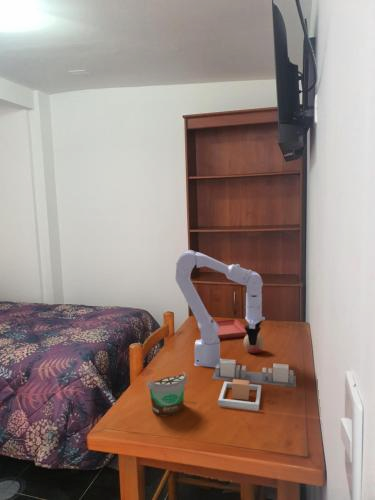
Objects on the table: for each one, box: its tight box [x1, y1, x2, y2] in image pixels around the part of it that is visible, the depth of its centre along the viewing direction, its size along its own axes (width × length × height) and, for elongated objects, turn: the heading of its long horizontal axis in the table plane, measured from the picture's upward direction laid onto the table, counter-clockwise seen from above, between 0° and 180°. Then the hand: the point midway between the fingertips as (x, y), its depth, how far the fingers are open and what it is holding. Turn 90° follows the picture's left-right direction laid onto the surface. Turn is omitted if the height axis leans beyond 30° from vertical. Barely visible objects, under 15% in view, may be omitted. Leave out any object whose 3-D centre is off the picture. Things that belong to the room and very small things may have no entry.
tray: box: [217, 380, 262, 412], centre depth 118 cm, size 12×12×2 cm
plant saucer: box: [214, 318, 247, 340], centre depth 177 cm, size 18×18×3 cm
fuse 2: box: [272, 362, 290, 383], centre depth 128 cm, size 5×3×5 cm, turn 76°
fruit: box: [243, 333, 265, 355], centre depth 153 cm, size 8×8×8 cm
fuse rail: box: [211, 363, 297, 388], centre depth 131 cm, size 28×8×4 cm, turn 76°
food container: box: [146, 371, 188, 417], centre depth 111 cm, size 12×6×10 cm, turn 117°
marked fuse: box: [231, 379, 250, 401], centre depth 118 cm, size 5×3×5 cm, turn 76°
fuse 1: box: [220, 358, 237, 377], centre depth 133 cm, size 5×3×5 cm, turn 76°
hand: (253, 341), depth 140 cm, fingers open, 7 cm apart
